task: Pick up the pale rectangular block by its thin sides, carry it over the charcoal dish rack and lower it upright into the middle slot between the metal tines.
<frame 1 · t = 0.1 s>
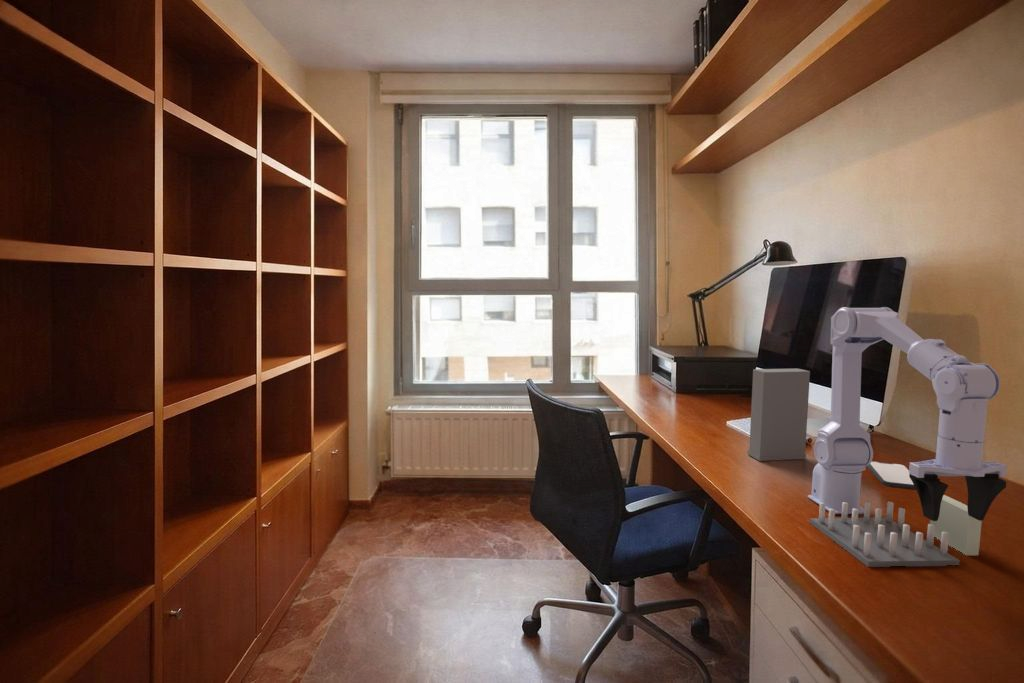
hand: (952, 518, 87), 10 cm above the table, tool pointing down, fingers open, 7 cm apart
pale rectangular block: (952, 544, 98), on the table
phone case: (893, 479, 134), on the table
dish rack: (878, 542, 99), on the table
tall grey upright box: (775, 457, 149), on the table
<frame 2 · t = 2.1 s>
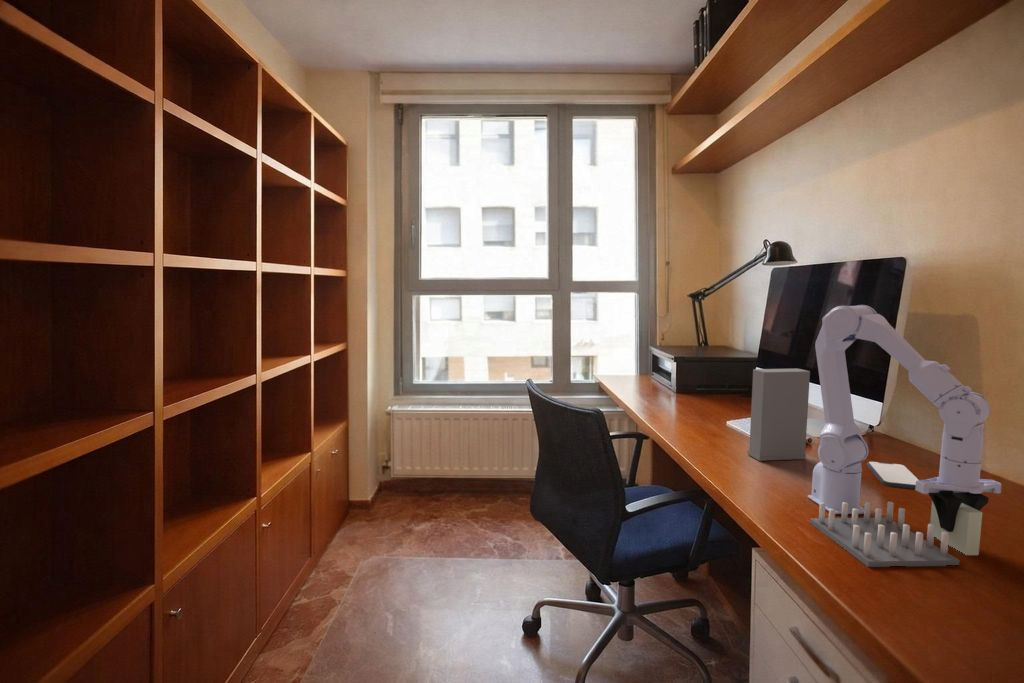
hand: (954, 529, 98), 3 cm above the table, tool pointing down, fingers closed on pale rectangular block, 2 cm apart
pale rectangular block: (952, 544, 98), on the table, touching gripper
everything else where it was.
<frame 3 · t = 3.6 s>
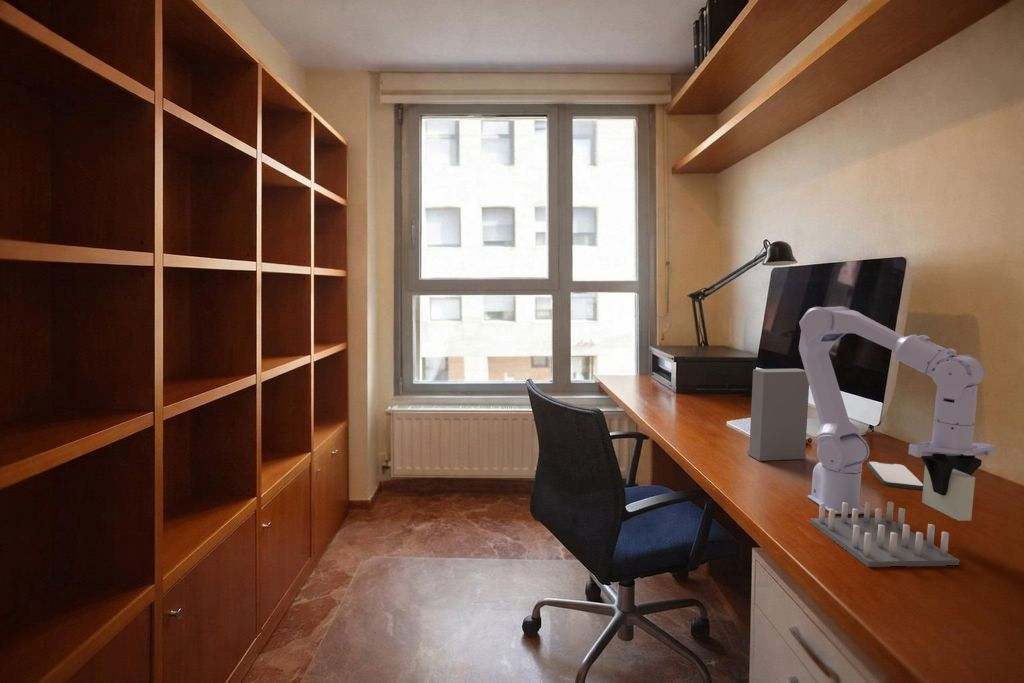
hand: (947, 493, 98), 10 cm above the table, tool pointing down, fingers closed on pale rectangular block, 2 cm apart
pale rectangular block: (945, 511, 98), point 6 cm above the table, touching gripper
everything else where it was.
when the fingers open (6 cm above the table, at t = 5.3 s): pale rectangular block stays where it is, resting on dish rack.
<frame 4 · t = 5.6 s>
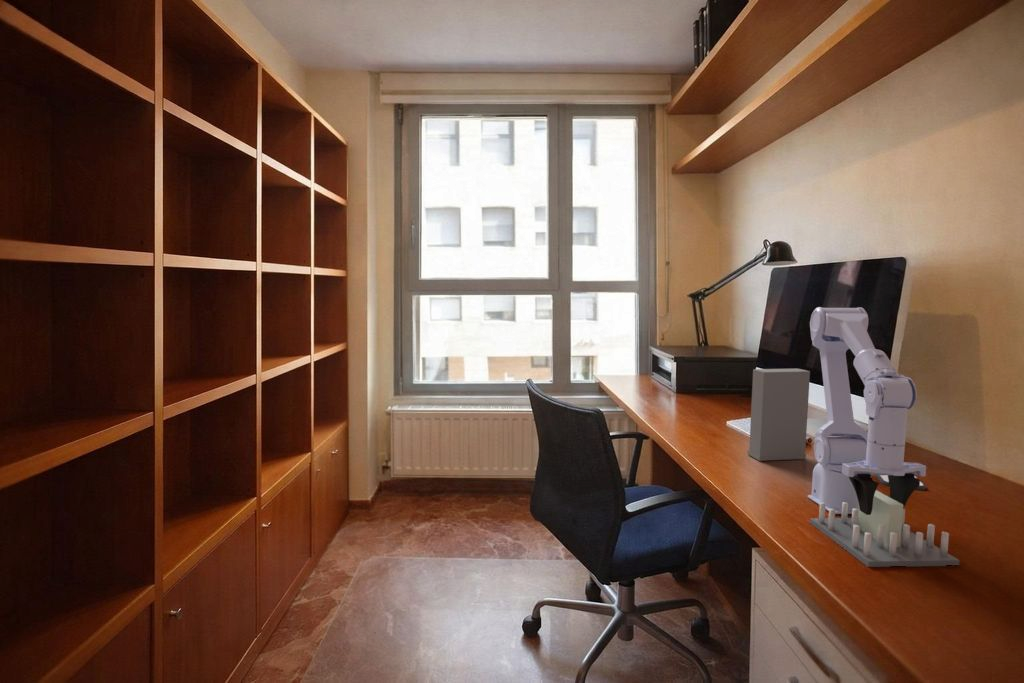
hand: (880, 512, 98), 6 cm above the table, tool pointing down, fingers open, 5 cm apart
pale rectangular block: (877, 536, 99), point 1 cm above the table, touching dish rack
everything else where it was.
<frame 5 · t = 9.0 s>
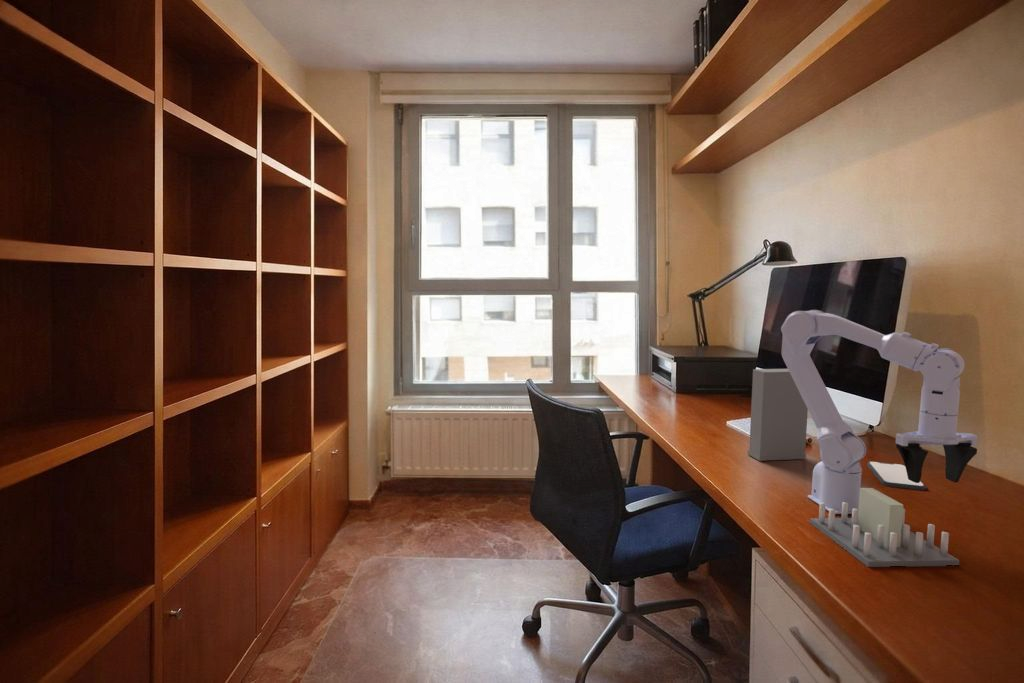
hand: (932, 480, 102), 10 cm above the table, tool pointing down, fingers open, 7 cm apart
nothing on the table moved.
at the end: pale rectangular block 0.2 cm off-centre on the dish rack, point 1.0 cm above the dish rack's base; pale rectangular block tilted 0°; the gripper is holding nothing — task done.
